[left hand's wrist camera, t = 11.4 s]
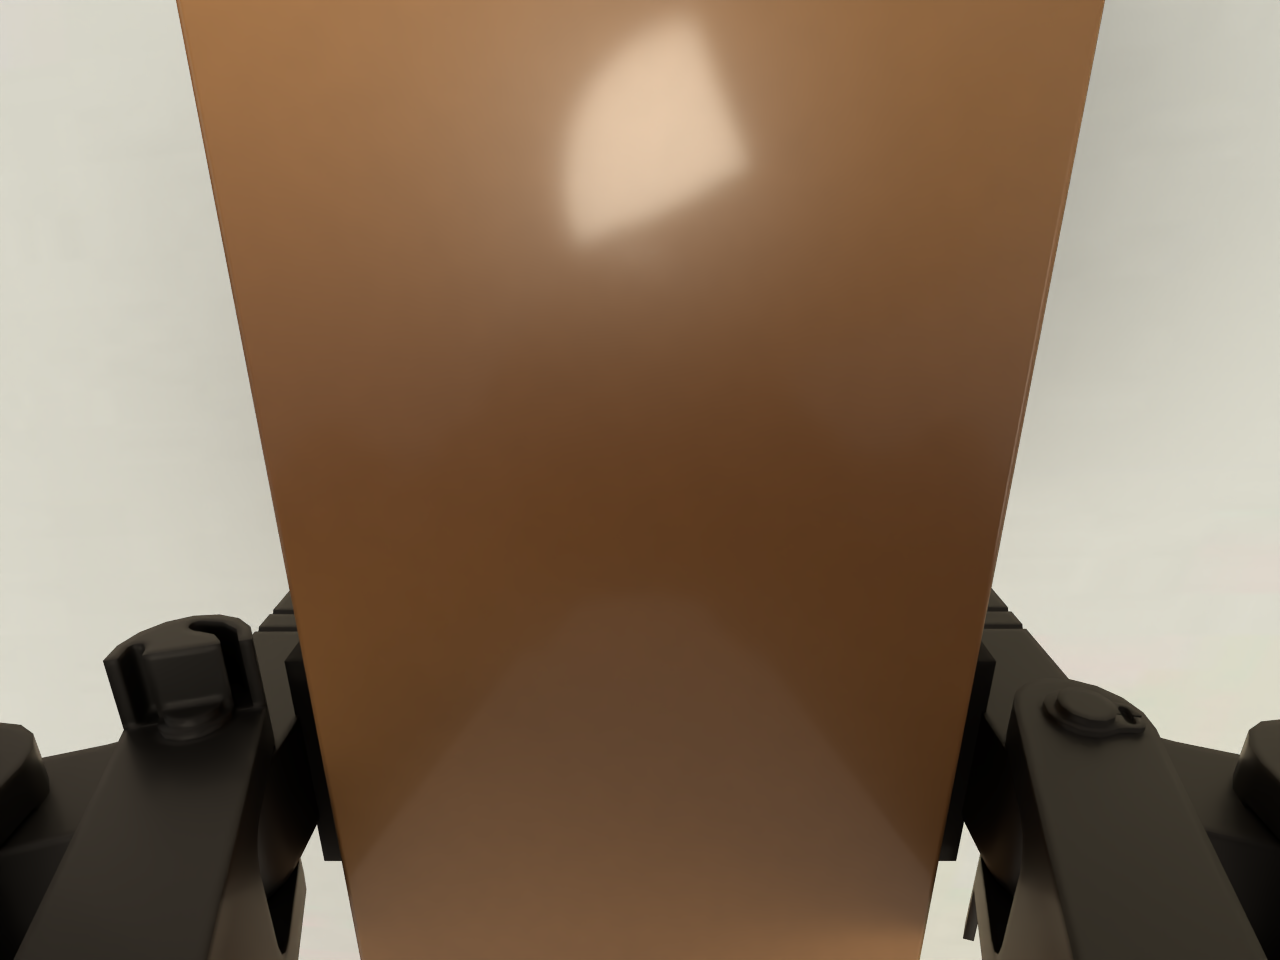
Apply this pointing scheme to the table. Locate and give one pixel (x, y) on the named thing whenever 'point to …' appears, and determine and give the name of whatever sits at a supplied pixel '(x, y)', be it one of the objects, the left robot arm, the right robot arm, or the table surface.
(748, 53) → the wooden beam
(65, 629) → the table surface
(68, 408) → the table surface
